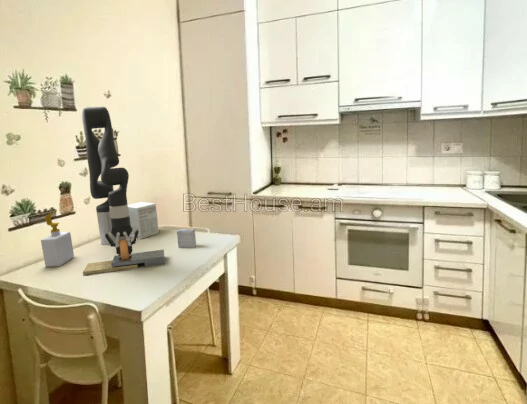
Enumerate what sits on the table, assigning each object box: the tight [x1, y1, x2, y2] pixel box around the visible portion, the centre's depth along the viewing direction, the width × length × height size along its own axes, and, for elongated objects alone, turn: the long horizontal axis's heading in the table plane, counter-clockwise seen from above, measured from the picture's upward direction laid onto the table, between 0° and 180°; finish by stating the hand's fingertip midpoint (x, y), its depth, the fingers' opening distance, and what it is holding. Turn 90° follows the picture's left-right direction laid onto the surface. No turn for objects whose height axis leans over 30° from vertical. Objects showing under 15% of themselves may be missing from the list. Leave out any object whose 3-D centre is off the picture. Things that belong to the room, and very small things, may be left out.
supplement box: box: [128, 201, 160, 240], centre depth 195 cm, size 13×13×18 cm
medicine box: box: [176, 228, 197, 249], centre depth 171 cm, size 8×4×9 cm, turn 84°
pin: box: [118, 236, 130, 260], centre depth 148 cm, size 5×5×12 cm
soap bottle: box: [40, 211, 75, 268], centre depth 156 cm, size 12×7×23 cm, turn 179°
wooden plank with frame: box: [82, 249, 166, 276], centre depth 149 cm, size 32×10×4 cm, turn 106°
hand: (124, 254), depth 149 cm, fingers closed on pin, 3 cm apart
